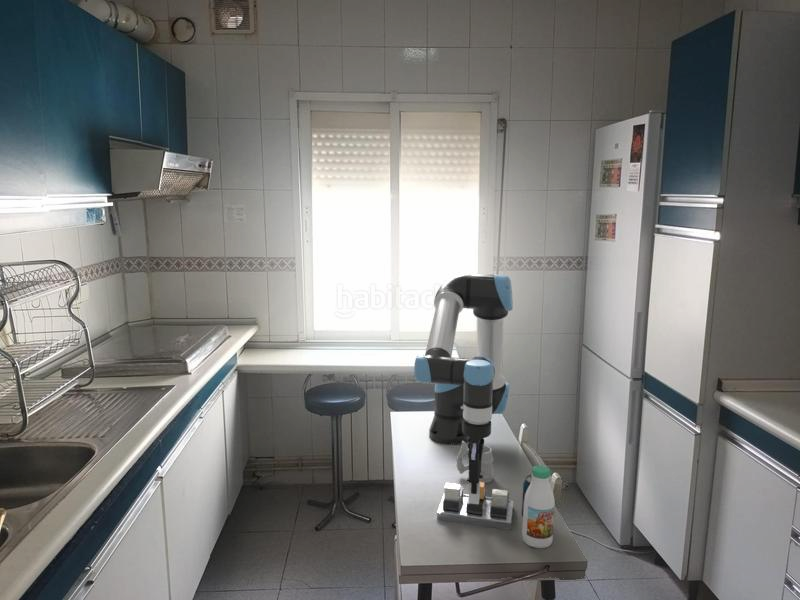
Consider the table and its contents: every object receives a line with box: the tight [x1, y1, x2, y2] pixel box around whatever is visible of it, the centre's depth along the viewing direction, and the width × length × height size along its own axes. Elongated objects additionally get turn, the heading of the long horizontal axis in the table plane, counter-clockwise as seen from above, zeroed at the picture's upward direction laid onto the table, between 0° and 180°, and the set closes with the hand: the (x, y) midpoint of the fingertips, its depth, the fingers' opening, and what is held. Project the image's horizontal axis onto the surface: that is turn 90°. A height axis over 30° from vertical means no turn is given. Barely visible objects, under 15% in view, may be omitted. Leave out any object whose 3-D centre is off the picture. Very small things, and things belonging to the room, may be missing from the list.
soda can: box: [521, 474, 532, 518], centre depth 159 cm, size 7×7×12 cm
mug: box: [455, 441, 494, 484], centre depth 183 cm, size 8×12×12 cm, turn 84°
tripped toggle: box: [479, 482, 486, 499], centre depth 162 cm, size 3×4×4 cm
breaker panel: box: [436, 482, 514, 531], centre depth 163 cm, size 12×20×9 cm, turn 76°
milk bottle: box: [521, 464, 556, 549], centre depth 149 cm, size 8×8×20 cm
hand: (474, 502), depth 156 cm, fingers closed
